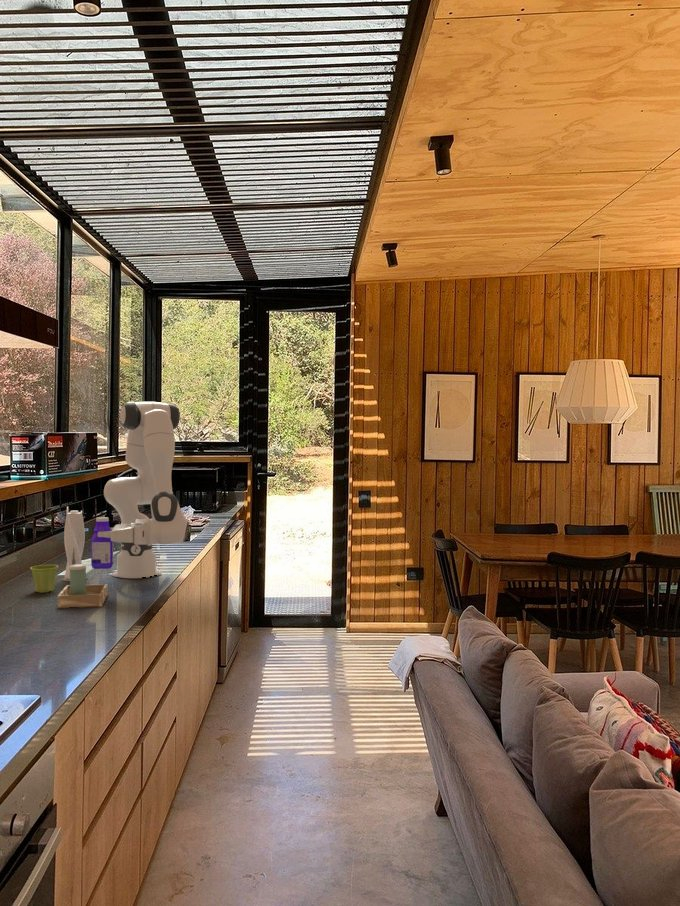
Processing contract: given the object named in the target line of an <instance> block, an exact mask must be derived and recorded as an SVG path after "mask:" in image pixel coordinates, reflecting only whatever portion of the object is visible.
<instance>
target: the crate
mask: <svg viewBox="0 0 680 906" xmlns="http://www.w3.org/2000/svg"><path fill="white" fill-rule="evenodd" d="M108 587H109V586H108V584H107V583H105V584H102V583H99V584H97V583H95V584H86V590H87V594H84V595H71V594H70V584H67V585H66V584H65V586H64V588H63V589H62V590H61V591H60V592H59V593H58V594H57V609H70V608H69V607H79V608H100V607H101V608H102V607H103V605H104V604H105V602H106V600H107V598H106V597H108V596H107V595H109V592H108V591H109V590H108ZM105 599H106V600H105ZM104 601H105V602H104ZM103 603H104V604H103Z"/></svg>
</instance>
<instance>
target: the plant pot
mask: <svg viewBox="0 0 680 906" xmlns="http://www.w3.org/2000/svg"><path fill="white" fill-rule="evenodd" d="M58 568H59V565H57V564H39V565H34V566H31V567H30V568H29V569H30V570H31V574H32V577H33V583H34V590H35V593H42V594H43V593H49V592H53V591H54V590H55V583H56V577H57V576H56V575H57V571H58Z"/></svg>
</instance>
